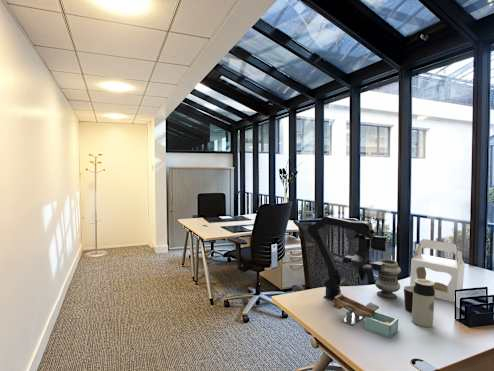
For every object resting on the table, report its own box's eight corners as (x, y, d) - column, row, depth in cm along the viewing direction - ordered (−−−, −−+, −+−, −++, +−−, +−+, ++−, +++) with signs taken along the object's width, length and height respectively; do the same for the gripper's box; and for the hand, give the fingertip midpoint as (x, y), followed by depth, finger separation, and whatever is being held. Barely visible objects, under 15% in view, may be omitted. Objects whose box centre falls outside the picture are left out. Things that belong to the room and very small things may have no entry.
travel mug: (407, 320, 140) (409, 279, 139) (421, 317, 143) (423, 277, 142) (423, 328, 132) (425, 285, 131) (437, 325, 135) (439, 283, 134)
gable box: (463, 296, 169) (466, 243, 167) (456, 303, 159) (460, 247, 158) (417, 284, 185) (419, 236, 183) (409, 290, 175) (411, 239, 174)
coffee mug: (412, 315, 145) (413, 293, 144) (398, 307, 153) (399, 286, 152) (433, 312, 148) (434, 291, 147) (418, 305, 156) (419, 284, 155)
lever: (332, 307, 142) (334, 297, 141) (347, 298, 153) (349, 288, 152) (367, 324, 131) (369, 314, 131) (381, 313, 142) (383, 303, 141)
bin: (364, 329, 131) (365, 317, 131) (373, 322, 137) (373, 310, 137) (389, 338, 124) (390, 325, 124) (397, 330, 130) (398, 318, 130)
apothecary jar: (376, 298, 163) (377, 263, 162) (372, 290, 174) (374, 257, 173) (402, 301, 160) (404, 265, 159) (397, 292, 171) (398, 259, 170)
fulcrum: (341, 321, 137) (342, 307, 136) (353, 313, 145) (353, 299, 144) (352, 326, 133) (353, 310, 133) (364, 317, 141) (364, 303, 141)
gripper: (337, 247, 153) (336, 279, 154) (376, 255, 140) (375, 290, 141) (348, 243, 161) (346, 274, 162) (386, 251, 148) (384, 284, 149)
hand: (362, 280), depth 153 cm, fingers closed
